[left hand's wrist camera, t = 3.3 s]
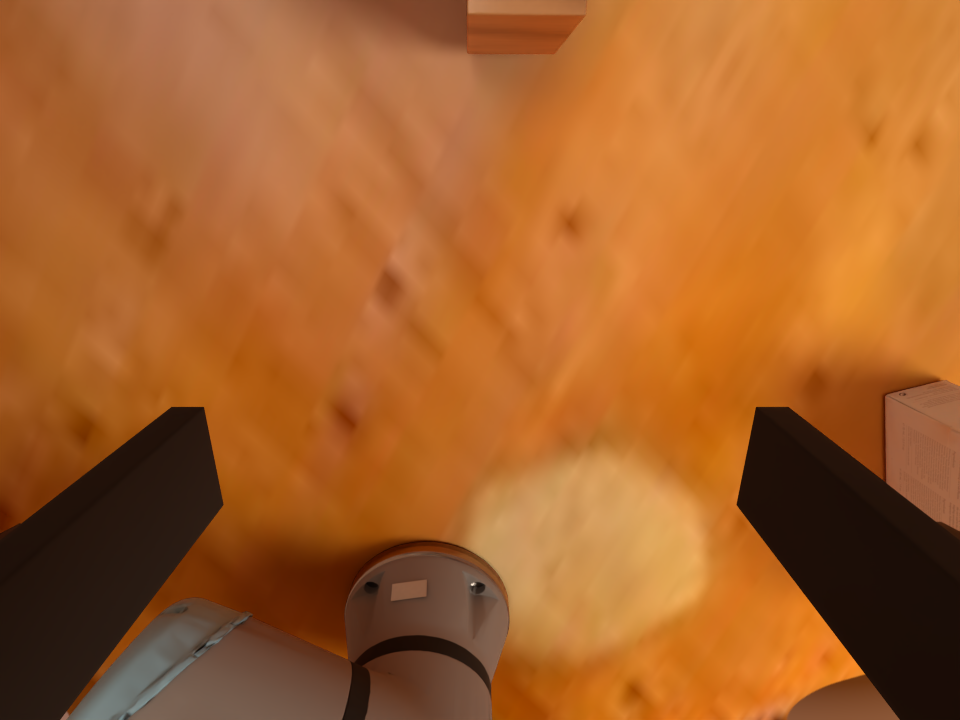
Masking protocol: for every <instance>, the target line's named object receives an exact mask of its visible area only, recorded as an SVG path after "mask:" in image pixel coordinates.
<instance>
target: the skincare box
mask: <svg viewBox="0 0 960 720" xmlns="http://www.w3.org/2000/svg"><path fill="white" fill-rule="evenodd" d="M885 428H886V483H887V484H888V485H889V486H891V487H892V488H893V489H895V490H896V491H897V492H898V493H900V494H901V495H902V496H904V497H905V498H906V499H907V500H909V501H910V502H911V503H913V504H914V505H915V506H916V507H918V508H919V509H920V510H922V511H923V512H924V513H925V514H927V515H928V516H929V517H931V518H932V519H933V520H934V521H936V522H943V523H945V524H947V525H949V526H951V527H952V528H954V529H956V530H958V531H960V386H958V385H955V384H953V383H950V382H948V381H947V380H943V381H939V382H935V383H931V384H927V385H923V386H919V387H915V388H911V389H907V390H903V391H899V392H895V393H891V394H887V395H886V396H885Z"/></svg>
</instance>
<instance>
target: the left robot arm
mask: <svg viewBox="0 0 960 720" xmlns="http://www.w3.org/2000/svg"><path fill="white" fill-rule="evenodd" d="M222 506H223V500H222V495H221V490H220V485H219V480H218V475H217V470H216V465H215V460H214V455H213V450H212V445H211V440H210V435H209V430H208V425H207V420H206V415H205V410H204V407H171V408H170V409H168V410H167V411H166V412H165V413H163V414H162V415H161V416H159V417H158V418H157V419H156V420H154V421H153V422H152V423H150V424H149V425H148V426H147V427H145V428H144V429H143V430H141V431H140V432H139V433H138V434H136V435H135V436H134V437H132V438H131V439H130V440H129V441H127V442H126V443H125V444H123V445H122V446H121V447H120V448H118V449H117V450H116V451H114V452H113V453H112V454H111V455H109V456H108V457H107V458H105V459H104V460H103V461H101V462H100V463H99V464H98V465H96V466H95V467H94V468H92V469H91V470H90V471H89V472H87V473H86V474H85V475H83V476H82V477H81V478H80V479H78V480H77V481H76V482H74V483H73V484H72V485H71V486H69V487H68V488H67V489H65V490H64V491H63V492H62V493H60V494H59V495H58V496H56V497H55V498H54V499H53V500H51V501H50V502H49V503H47V504H46V505H45V506H44V507H42V508H41V509H40V510H38V511H37V512H36V513H35V514H33V515H32V516H31V517H29V518H28V519H27V520H26V521H24V522H23V523H22V524H18V525H16V526H14V527H12V528H10V529H8V530H6V531H4V532H2V533H0V720H60V719H61V718H62V717H63V715H64V714H65V713H66V711H67V710H68V709H69V707H70V706H71V705H72V703H73V702H74V701H75V699H76V698H77V697H78V695H79V694H80V693H81V692H82V690H83V689H84V688H85V686H86V685H87V684H88V682H89V681H90V680H91V678H92V677H93V676H94V674H95V673H96V672H97V670H98V669H99V668H100V667H101V665H102V664H103V663H104V661H105V660H106V659H107V657H108V656H109V655H110V653H111V652H112V651H113V649H114V648H115V647H116V646H117V644H118V643H119V642H120V640H121V639H122V638H123V636H124V635H125V634H126V632H127V631H128V630H129V628H130V627H131V626H132V624H133V623H134V622H135V621H136V619H137V618H138V617H139V615H140V614H141V613H142V611H143V610H144V609H145V607H146V606H147V605H148V603H149V602H150V601H151V599H152V598H153V597H154V596H155V594H156V593H157V592H158V590H159V589H160V588H161V586H162V585H163V584H164V582H165V581H166V580H167V578H168V577H169V576H170V575H171V573H172V572H173V571H174V569H175V568H176V567H177V565H178V564H179V563H180V561H181V560H182V559H183V557H184V556H185V555H186V553H187V552H188V551H189V550H190V548H191V547H192V546H193V544H194V543H195V542H196V540H197V539H198V538H199V536H200V535H201V534H202V532H203V531H204V530H205V528H206V527H207V526H208V525H209V523H210V522H211V521H212V519H213V518H214V517H215V515H216V514H217V513H218V511H219V510H220V509H221V507H222ZM737 506H738V507H739V509H740V510H741V511H742V513H743V514H744V515H745V517H746V518H747V519H748V521H749V522H750V523H751V525H752V526H753V527H754V528H755V530H756V531H757V532H758V534H759V535H760V536H761V538H762V539H763V540H764V542H765V543H766V544H767V546H768V547H769V548H770V550H771V551H772V552H773V553H774V555H775V556H776V557H777V559H778V560H779V561H780V563H781V564H782V565H783V567H784V568H785V569H786V571H787V572H788V573H789V575H790V576H791V577H792V578H793V580H794V581H795V582H796V584H797V585H798V586H799V588H800V589H801V590H802V592H803V593H804V594H805V596H806V597H807V598H808V599H809V601H810V602H811V603H812V605H813V606H814V607H815V609H816V610H817V611H818V613H819V614H820V615H821V617H822V618H823V619H824V621H825V622H826V623H827V624H828V626H829V627H830V628H831V630H832V631H833V632H834V634H835V635H836V636H837V638H838V639H839V640H840V642H841V643H842V644H843V646H844V647H845V648H846V649H847V651H848V652H849V653H850V655H851V656H852V657H853V659H854V660H855V661H856V663H857V664H858V665H859V667H860V668H861V669H862V670H863V672H864V673H865V674H866V676H867V677H868V678H869V680H870V681H871V682H872V684H873V685H874V686H875V688H876V689H877V690H878V692H879V693H880V694H881V695H882V697H883V698H884V699H885V701H886V702H887V703H888V705H889V706H890V707H891V709H892V710H893V711H894V713H895V714H896V715H897V717H898V718H899V719H900V720H960V531H958V530H956V529H954V528H952V527H951V526H949V525H947V524H945V523H943V522H936V521H934V520H933V519H932V518H931V517H929V516H928V515H927V514H925V513H924V512H923V511H922V510H920V509H919V508H918V507H916V506H915V505H914V504H913V503H911V502H910V501H909V500H907V499H906V498H905V497H904V496H902V495H901V494H900V493H898V492H897V491H896V490H895V489H893V488H892V487H891V486H889V485H888V484H887V483H886V482H884V481H883V480H882V479H880V478H879V477H878V476H877V475H875V474H874V473H873V472H871V471H870V470H869V469H868V468H866V467H865V466H864V465H862V464H861V463H860V462H858V461H857V460H856V459H855V458H853V457H852V456H851V455H849V454H848V453H847V452H846V451H844V450H843V449H842V448H840V447H839V446H838V445H837V444H835V443H834V442H833V441H831V440H830V439H829V438H828V437H826V436H825V435H824V434H822V433H821V432H820V431H819V430H817V429H816V428H815V427H813V426H812V425H811V424H810V423H808V422H807V421H806V420H804V419H803V418H802V417H801V416H799V415H798V414H797V413H795V412H794V411H793V410H792V409H790V408H789V407H756V410H755V415H754V420H753V425H752V430H751V435H750V440H749V445H748V450H747V455H746V460H745V465H744V470H743V475H742V480H741V485H740V490H739V495H738V500H737ZM252 616H253V614H252V613H250V612H248V611H246V612H243V613H241V612H238V611H235V610H233V609H230V608H227V607H225V606H222V605H219V604H217V603H214V602H211V601H209V600H206V599H202V598H187V599H184V600H181V601H178V602H176V603H174V604H172V605H171V606H169V607H168V608H167V609H165V610H164V611H163V612H162V613H160V614H159V615H158V616H157V617H156V618H155V619H154V620H153V621H152V622H151V623H150V624H149V625H148V626H147V627H146V628H145V629H144V630H143V631H142V632H141V633H140V634H139V635H138V636H137V637H136V638H135V639H134V641H133V642H132V643H131V644H130V645H129V646H128V647H127V648H126V650H125V651H124V652H123V653H122V654H121V655H120V656H119V657H118V658H117V660H116V661H115V662H114V663H113V664H112V665H111V666H110V668H109V669H108V670H107V671H106V672H105V673H104V675H103V676H102V677H101V678H100V679H99V681H98V682H97V683H96V684H95V685H94V686H93V688H92V689H91V690H90V691H89V693H88V694H87V695H86V696H85V697H84V699H83V700H82V701H81V702H80V704H79V705H78V706H77V707H76V709H75V710H74V711H73V712H72V713H71V715H70V716H69V717H68V719H67V720H492V704H491V682H492V679H493V676H494V673H495V670H496V667H497V664H498V661H499V658H500V655H501V652H502V649H503V646H504V643H505V640H506V637H507V634H508V629H509V606H508V597H507V592H506V589H505V587H504V584H503V582H502V581H501V579H500V577H499V576H498V574H497V573H496V572H495V571H494V569H493V568H492V567H491V566H490V565H489V564H487V563H486V562H485V561H484V560H482V559H481V558H480V557H478V556H477V555H475V554H473V553H471V552H469V551H467V550H465V549H462V548H460V547H457V546H453V545H449V544H445V543H438V542H414V543H408V544H403V545H399V546H396V547H393V548H390V549H388V550H386V551H384V552H382V553H380V554H378V555H377V556H375V557H374V558H372V559H371V560H370V561H369V562H367V563H366V564H365V565H364V566H363V568H362V569H361V570H360V571H359V573H358V574H357V576H356V577H355V579H354V581H353V584H352V586H351V589H350V593H349V596H348V599H347V602H346V607H345V628H346V639H347V650H348V660H347V659H345V658H342V657H340V656H338V655H336V654H333V653H331V652H329V651H327V650H324V649H322V648H320V647H318V646H315V645H313V644H311V643H309V642H306V641H304V640H302V639H300V638H297V637H295V636H293V635H291V634H288V633H286V632H284V631H282V630H279V629H277V628H275V627H273V626H270V625H268V624H266V623H264V622H262V621H259V620H257V619H255V618H253V617H252Z"/></svg>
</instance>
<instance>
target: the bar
mask: <svg viewBox="0 0 960 720" xmlns="http://www.w3.org/2000/svg"><path fill="white" fill-rule="evenodd" d="M586 10H587V0H467V53H468V54H555V53H556V52H557V50H558V49H559V48H560V47H561V45H562V44H563V43H564V42H565V40H566V39H567V38H568V37H569V35H570V34H571V33H572V32H573V30H574V29H575V28H576V27H577V25H578V24H579V23H580V22H581V20H582V19H583V18H584V17H585V15H586Z"/></svg>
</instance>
